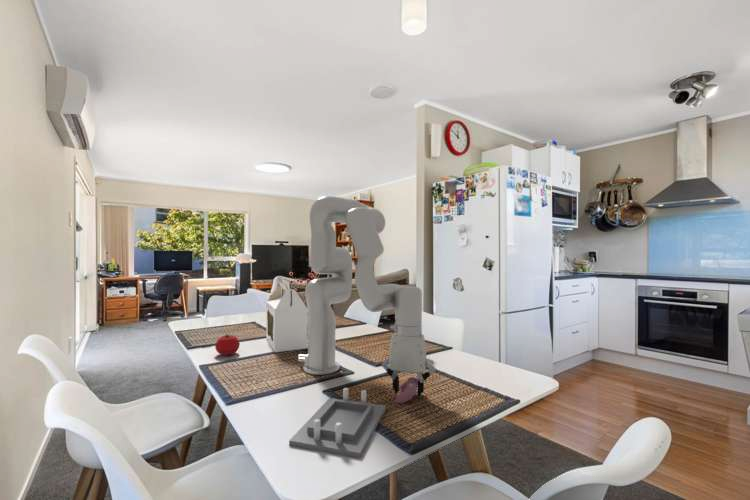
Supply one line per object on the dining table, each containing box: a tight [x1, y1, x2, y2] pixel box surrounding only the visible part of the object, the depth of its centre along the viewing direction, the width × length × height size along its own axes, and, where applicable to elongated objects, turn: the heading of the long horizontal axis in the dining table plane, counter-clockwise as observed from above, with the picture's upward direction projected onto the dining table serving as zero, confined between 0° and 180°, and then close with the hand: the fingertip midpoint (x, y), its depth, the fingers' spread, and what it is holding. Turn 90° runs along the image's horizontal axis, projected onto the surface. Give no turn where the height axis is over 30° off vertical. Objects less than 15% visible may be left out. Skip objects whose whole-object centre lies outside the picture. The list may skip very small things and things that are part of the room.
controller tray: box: [288, 387, 387, 459], centre depth 83 cm, size 16×22×5 cm
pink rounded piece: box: [395, 375, 419, 404], centre depth 99 cm, size 10×5×7 cm, turn 168°
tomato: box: [214, 333, 240, 356], centre depth 137 cm, size 9×9×8 cm
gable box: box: [265, 278, 308, 353], centre depth 152 cm, size 22×13×28 cm, turn 26°
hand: (408, 392), depth 99 cm, fingers closed on pink rounded piece, 6 cm apart
